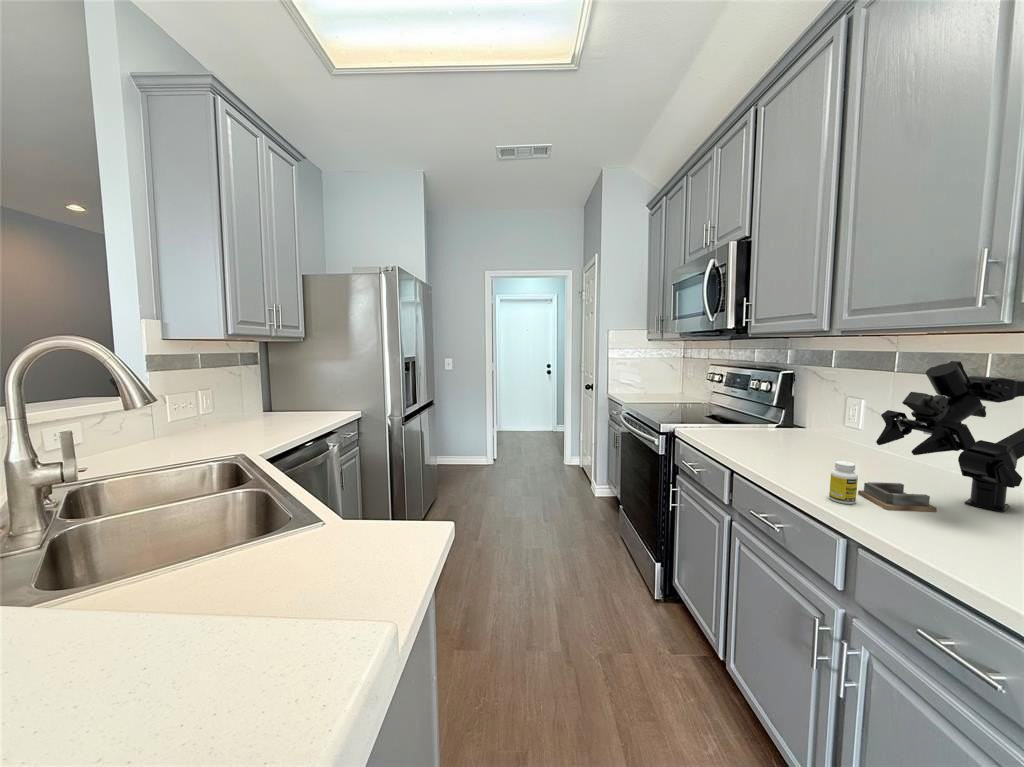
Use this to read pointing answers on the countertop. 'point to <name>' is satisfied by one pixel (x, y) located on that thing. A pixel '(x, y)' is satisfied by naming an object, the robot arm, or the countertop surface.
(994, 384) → the robot arm
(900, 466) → the countertop surface
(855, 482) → the supplement bottle
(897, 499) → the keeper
